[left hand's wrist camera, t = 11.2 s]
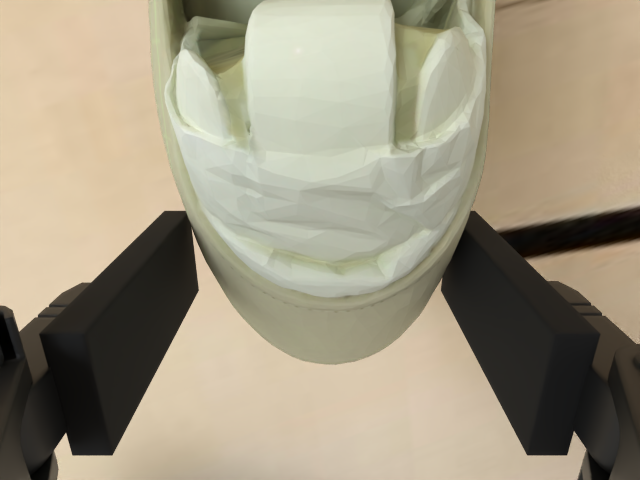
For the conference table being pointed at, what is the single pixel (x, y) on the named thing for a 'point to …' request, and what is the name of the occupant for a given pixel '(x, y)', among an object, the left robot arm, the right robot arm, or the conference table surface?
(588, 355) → the left robot arm
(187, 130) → the ballet flat
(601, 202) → the conference table surface
